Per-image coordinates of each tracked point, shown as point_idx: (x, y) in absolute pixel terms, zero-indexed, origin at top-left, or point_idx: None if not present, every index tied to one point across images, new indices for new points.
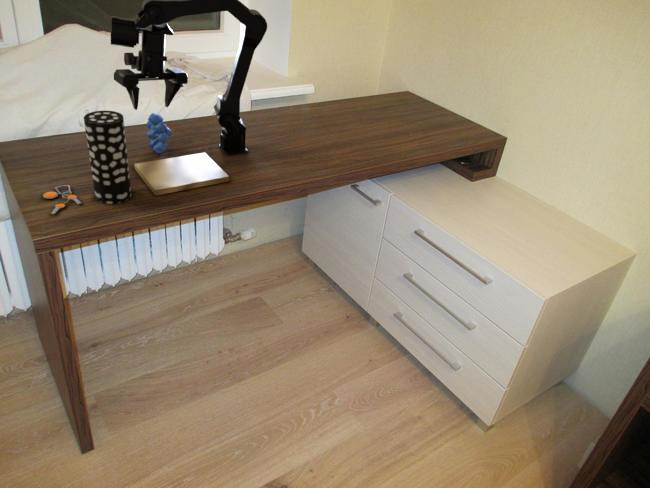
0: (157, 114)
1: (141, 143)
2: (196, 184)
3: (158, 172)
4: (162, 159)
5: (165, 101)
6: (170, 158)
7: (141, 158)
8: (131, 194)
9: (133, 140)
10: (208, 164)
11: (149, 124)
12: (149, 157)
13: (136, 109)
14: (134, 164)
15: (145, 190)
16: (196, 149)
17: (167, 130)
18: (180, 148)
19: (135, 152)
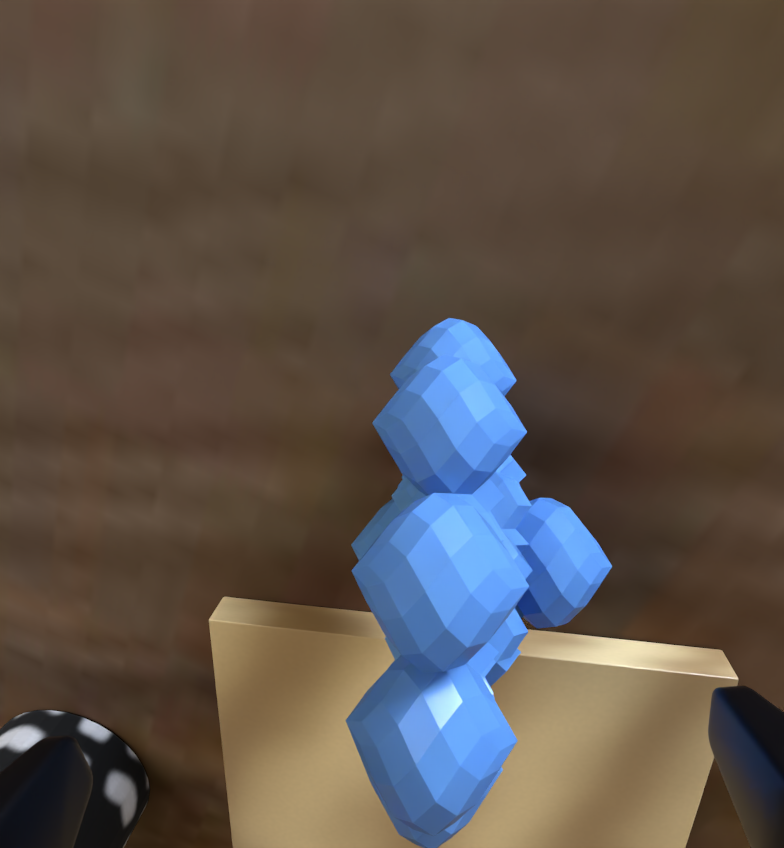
0: (424, 814)
1: (395, 219)
2: None
3: (310, 763)
4: None
5: (773, 794)
6: None
7: (304, 484)
8: (146, 804)
9: (351, 118)
10: (638, 815)
11: (402, 470)
12: (361, 493)
13: (81, 792)
14: (209, 621)
15: (217, 796)
16: (757, 517)
17: (540, 627)
18: (650, 449)
19: (294, 375)
